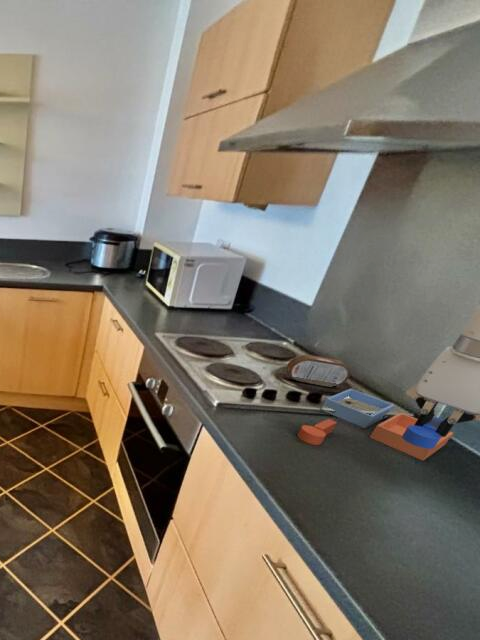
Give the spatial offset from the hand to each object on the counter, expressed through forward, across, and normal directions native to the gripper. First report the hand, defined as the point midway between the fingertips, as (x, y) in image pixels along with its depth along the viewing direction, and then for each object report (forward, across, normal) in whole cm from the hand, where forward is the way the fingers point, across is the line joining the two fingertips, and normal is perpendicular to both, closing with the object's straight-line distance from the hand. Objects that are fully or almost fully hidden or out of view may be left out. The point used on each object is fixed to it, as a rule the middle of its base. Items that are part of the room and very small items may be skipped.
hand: (427, 433), depth 83 cm
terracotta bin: (+10, +4, -17) cm, 20 cm away
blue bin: (+10, +16, -21) cm, 29 cm away
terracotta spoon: (+10, +15, +2) cm, 18 cm away
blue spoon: (+1, 0, +1) cm, 1 cm away
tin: (+10, +30, -30) cm, 44 cm away
